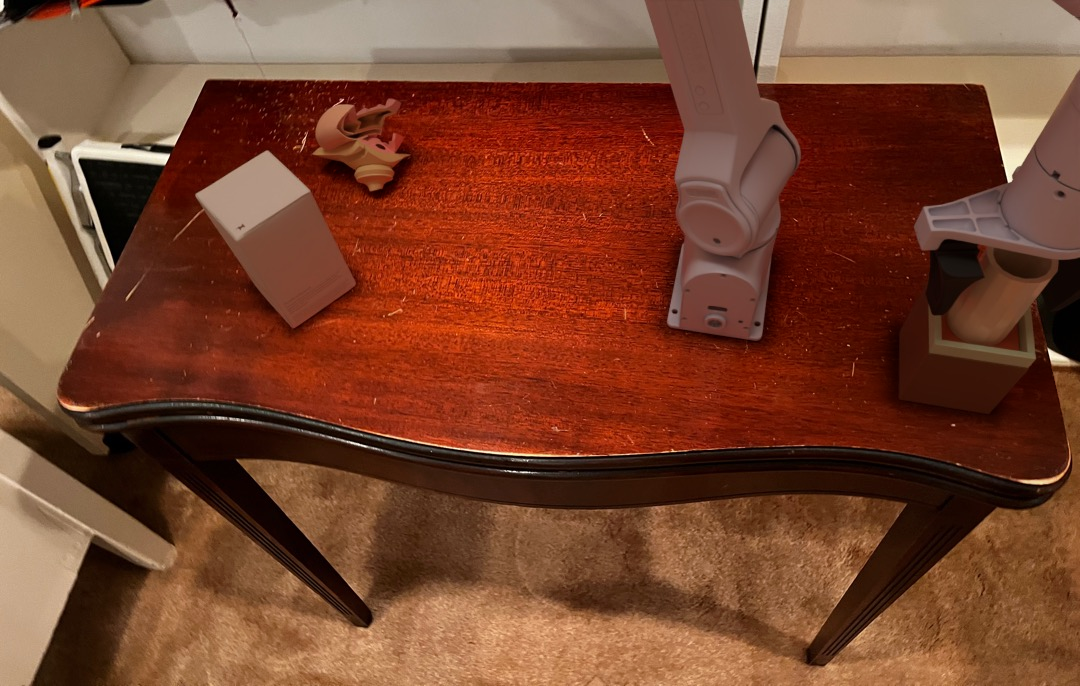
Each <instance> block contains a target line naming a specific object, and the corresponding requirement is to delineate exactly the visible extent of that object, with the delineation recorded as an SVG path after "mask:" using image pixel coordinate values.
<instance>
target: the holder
mask: <svg viewBox="0 0 1080 686" xmlns="http://www.w3.org/2000/svg"><path fill="white" fill-rule="evenodd" d="M927 285H928V281H926V283H925V285H924V286H923V288H922V290H921V292H920V294H919V295H918V297H917V299H916V301H915V303H914V304H913V307H912V308H911V309H910V311H909V314H908V316H907V317H906V319H905V321H904V322H903V324H902V326H901V328H900V330H899V333H898V339H899V340H898V400H900V401H905V402H910V403H911V402H913V403H917V404H923V405H929V406H935V407H942V408H947V409H953V410H960V411H965V412H966V411H967V412H972V413H977V414H984V415H990V414H991V412H992V411H993V410H995V408H996V407H997V406H998V405H999V404H1000V402H1001V401H1002V400H1003V399H1004V398H1005V397H1006V396H1007V395H1008V393H1009V392H1010V391H1011V390H1012V389H1013V388H1014V387H1015V385H1016V384H1017V383H1019V381H1020V379H1022V377H1023V376H1024V375H1025V374H1026V373H1027V371H1029V369H1030V366H1032V364H1033V363H1034V362H1035V361H1036V360H1037V355H1036V347H1035V346H1036V345H1035V337H1034V336H1035V335H1034V325H1033V324H1034V323H1033V316H1032V315H1033V314H1032V305H1031V306H1030V307H1029V309H1028V310H1027V311H1026V313H1025V314H1024V315H1023V316H1022V318H1021V319H1020V320H1019V322H1018V323H1017V324H1016V325H1015V327H1014V328H1013V329H1012V330H1011V332H1010V333H1009V334H1008V335H1007V337H1006V338H1005V339H1004V340H1003V341H1002V342H1000V343H998V344H996V345H992V346H981V345H974V344H969V343H967V342H965V341H963V340H961V339H960V338H958V337H957V336H956V335H955V334H954V333H953V332H952V331H951V330H950V328H949V326H948V324H947V320H946V314H947V313H945V314H944V315H938V316H934V315H932V313H931V310H930V307H929V304H928V301H927V297H926V294H925V293H926V289H927Z"/></svg>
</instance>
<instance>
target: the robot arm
mask: <svg viewBox="0 0 1080 686" xmlns="http://www.w3.org/2000/svg"><path fill="white" fill-rule="evenodd" d="M1051 1H1052V2H1053V3H1055V4H1056V5H1058V6H1059V7H1061V8H1062V9H1063V10H1064V11H1065V12H1067V13H1068V14H1069V15H1071V16H1072V17H1074V18H1075V19H1077V20H1078V21H1079V22H1080V0H1051ZM644 3H645V6H646V10H647V14H648V16H649V18H650V23H651V25H652V29H653V33H654V35H655V39H656V43H657V46H658V49H659V53H660V55H661V58H662V61H663V65H664V69H665V72H666V74H667V79H668V81H669V84H670V88H671V91H672V94H673V97H674V101H675V105H676V107H677V110H678V113H679V116H680V120H681V123H682V126H683V130H684V131H683V137H682V140H681V141H682V142H681V146H680V150H679V155H678V159H677V163H676V168H675V172H674V183H675V186H676V189H677V194H678V195H677V196H678V199H677V204H676V208H675V219H676V223H677V224H678V226H679V229H680V230H681V231H682V233H683V234H684V241H683V243H682V244H681V249H680V253H679V259H678V265H677V269H676V274H675V279H674V284H673V289H672V295H671V300H670V304H669V309H668V310H669V311H668V315H667V320H666V324H667V326H668V328H671V329H677V330H683V331H684V330H685V331H690V332H697V333H703V334H709V335H715V336H722V337H723V336H724V337H729V338H734V339H742V340H748V341H755V342H757V341H760V340H762V337H763V333H764V332H763V330H764V324H765V323H764V322H765V316H766V315H765V314H766V308H767V307H766V305H767V296H768V290H769V281H770V271H771V264H772V254H773V251H774V247H775V243H776V239H777V235H778V232H779V227H780V224H781V219H782V218H781V217H782V213H781V205H780V199H779V197H780V196H781V194H782V192H783V190H784V188H785V187H786V185H787V183H788V181H789V179H790V178H792V177H793V175H794V174H795V172H796V171H797V170H798V168H799V166H800V163H801V160H802V152H801V151H802V150H801V147H800V144H799V141H798V139H797V138H796V136H795V135H794V134H793V133H792V131H791V129H789V128H788V126H787V125H786V123H785V121H784V119H783V117H782V112H781V108H780V104H779V102H777V101H775V100H772V99H768V98H764V97H761V96H760V92H759V87H758V82H757V78H756V73H755V68H754V63H753V59H752V55H751V51H750V46H749V41H748V36H747V32H746V27H745V23H744V19H743V14H742V8H741V4H740V0H644ZM913 229H914V232H915V236H916V239H917V243H918V245H919V248H920V250H921V251H929V270H928V271H929V273H928V280H927V282H928V285H927V289H926V293H925V294H926V297H927V301H928V304H929V307H930V310H931V313H932V315H934V316H938V315H944V314H945V313H947V312H948V311H949V310H950V308H951V307H952V305H953V304H954V303H955V301H956V300H957V298H958V297H959V295H960V294H961V293H962V292H963V291H964V290H965V289H966V288H968V287H969V286H970V285H971V284H973V283H975V282H976V281H978V280H980V279H983V278H985V276H984V274H983V271H982V268H981V266H980V263H979V258H978V255H980V252H981V250H980V248H979V247H978V246H979V245H980V246H984V247H987V246H989V247H994V248H999V249H1004V250H1009V251H1014V252H1018V253H1023V254H1028V255H1033V256H1038V257H1043V258H1048V259H1057V260H1059V265H1058V271H1057V273H1056V274H1055V275H1054V277H1053V278H1052V279H1051V280H1050V282H1049V283H1048V284H1047V286H1046V287H1045V288H1044V289H1043V291H1042V292H1041V293H1040V295H1041V296H1042V299H1043V301H1044V305H1045V306H1046V309H1047V312H1059V311H1061V310H1064V308H1067V307H1068V306H1069V305H1071V304H1073V303H1075V302H1076V301H1078V300H1079V299H1080V69H1079V70H1078V71H1076V74H1075V75H1074V77H1073V79H1072V80H1071V82H1070V83H1069V85H1068V87H1067V89H1066V90H1065V92H1064V94H1063V95H1062V97H1061V98H1060V100H1059V102H1058V104H1057V105H1056V107H1055V108H1054V110H1053V112H1052V114H1051V115H1050V117H1049V119H1048V120H1047V122H1046V123H1045V125H1044V127H1043V129H1042V130H1041V132H1040V133H1039V135H1038V137H1037V138H1036V140H1035V142H1034V144H1033V145H1032V146H1031V148H1030V150H1029V152H1028V154H1027V155H1026V157H1025V158H1024V160H1023V162H1022V163H1021V165H1018V166H1017V167H1016V168H1015V169H1014V171H1013V173H1012V174H1011V181H1009V182H1007V183H1004V184H1001V185H998V186H995V187H992V188H989V189H986V190H983V191H980V192H977V193H975V194H971V195H968V196H965V197H963V198H960V199H956V200H954V201H951V202H946V203H943V204H937V205H936V204H935V205H927V206H926V205H924V206H923V207H922V208H921V211H920V213H919V214H918V217H917V219H916V221H915V223H914V225H913ZM674 312H675V313H674Z"/></svg>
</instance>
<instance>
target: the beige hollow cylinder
mask: <svg viewBox="0 0 1080 686" xmlns="http://www.w3.org/2000/svg"><path fill="white" fill-rule="evenodd" d="M978 260H979V263H980V266H981V268H982V271H983V274H984V276H985V278H983V279H980V280H978V281H976V282H975V283H973V284H971V285H970V286H969V287H968V288H966V289H965V290H964V291H963V292H962V293H961V294H960V295H959V297H958V298H957V300H956V301H955V303H954V304H953V305H952V307H951V308H950V310H949V311H948V312H947V314H946V320H947V324H948V326H949V328H950V330H951V331H952V332H953V333H954V334H955V335H956V336H957V337H958V338H960V339H961V340H963V341H965V342H967V343H969V344H974V345H981V346H992V345H996V344H998V343H1000V342H1002V341H1003V340H1004V339H1005V338H1006V337H1007V335H1008V334H1009V333H1010V332H1011V330H1012V329H1013V328H1014V327H1015V325H1016V324H1017V323H1018V322H1019V320H1020V319H1021V318H1022V316H1023V315H1024V314H1025V313H1026V311H1027V310H1028V309H1029V307H1030V306H1031V307H1032V306H1033V304H1034V302H1035V301H1036V300H1037V298H1038V297H1039V296H1040V295H1041V292H1042V291H1043V289H1044V288H1045V287H1046V286H1047V284H1048V283H1049V282H1050V280H1051V279H1052V278H1053V277H1054V275H1055V274H1056V273H1057V271H1058V265H1059V260H1057V259H1048V258H1043V257H1038V256H1033V255H1028V254H1023V253H1018V252H1014V251H1009V250H1004V249H999V248H994V247H989V246H985V248H984V250H983V252H982V253H981V255H980V256H979V258H978Z"/></svg>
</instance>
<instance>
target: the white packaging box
mask: <svg viewBox="0 0 1080 686" xmlns="http://www.w3.org/2000/svg"><path fill="white" fill-rule="evenodd" d="M194 195H195V198H196V200H197V201H198V203H199V204H200V206H201V208H202V209H203V210H204V213H205V215H207V217H208V218H209V220H210V222H211V223H212V224H213V225H214V227H215V229H216V230H217V232H218V233H219V234H220V236H221V237H222V239H223V240H224V242H225V243H226V244H227V247H229V249H230V250H231V252H232V253H233V255H234V256H235V258H236V260H237V261H238V262H239V263H240V265H241V266H242V268H243V269H244V271H245V273H246V274H247V276H248V277H249V279H250V280H251V282H252V283H253V285H254V287H256V289H257V290H258V292H260V293H261V295H262V296H263V297H264V298H265V299H266V301H267V302H268V303H269V305H270V306H272V307H273V309H274V310H275V311H276V312H277V313H278V314H279V315H280V316H281V318H282V319H283V320H284V321H285V322H286V323H287V324H288V325H289V327H291V328H292V329H296V328H297V327H298V326H300V325H301V324H303V323H305V322H306V321H308V320H309V319H310V318H311V317H313V316H315V315H316V314H317V313H319V312H320V311H322V310H323V309H325V308H326V307H328V306H329V305H330V304H332V303H334V302H335V301H336V300H338V299H339V298H340V297H342V296H343V295H345V294H347V292H349V291H350V290H351V289H353V288H354V287H355V286H356V284H357V282H356V280H355V278H354V276H353V274H352V272H351V270H350V267H349V266H348V264H347V261H346V260H345V258H344V256H343V254H342V252H341V250H340V248H339V245H338V244H337V242H336V240H335V238H334V235H333V233H332V232H331V230H330V227H329V226H328V224H327V222H326V220H325V218H324V216H323V214H322V212H321V210H320V208H319V205H318V203H317V202H316V199H315V197H314V196H313V193H312V191H311V189H310V188H309V187H307V185H306V184H305V183H304V182H302V180H301V179H299V178H298V176H296V175H295V174H294V173H293V171H291V170H290V169H289V168H287V166H286V165H284V164H283V163H282V162H281V161H280V160H279V159H278V158H277V157H276V156H275V155H274V154H273V153H272V152H271V151H270V150H265V151H263V152H262V153H260V154H258V155H257V156H254V157H253V158H252V159H250V160H249V161H246V162H245V163H244V164H242V165H240V166H239V167H237V168H236V169H234V170H232V171H231V172H229V173H227V174H226V175H225V176H223V177H221V178H220V179H218V180H216V181H214V183H211V184H210V185H208V186H207V187H205V188H204V189H202V190H200V191H198V192H196V193H195V194H194Z"/></svg>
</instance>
